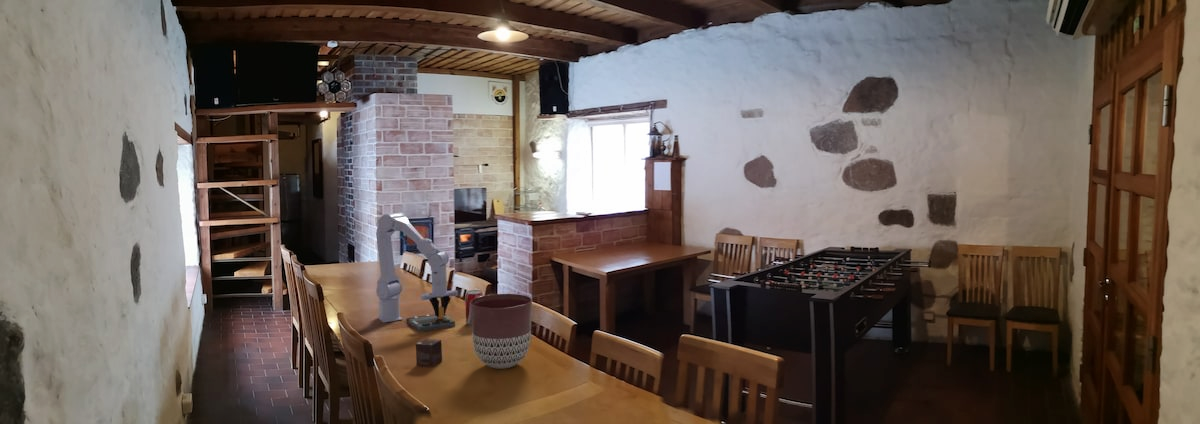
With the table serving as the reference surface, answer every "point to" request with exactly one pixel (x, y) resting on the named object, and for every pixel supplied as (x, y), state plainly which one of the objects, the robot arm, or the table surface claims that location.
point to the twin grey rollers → (419, 316)
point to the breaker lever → (441, 312)
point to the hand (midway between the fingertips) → (440, 315)
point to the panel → (431, 323)
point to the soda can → (469, 297)
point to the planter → (501, 328)
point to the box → (429, 352)
